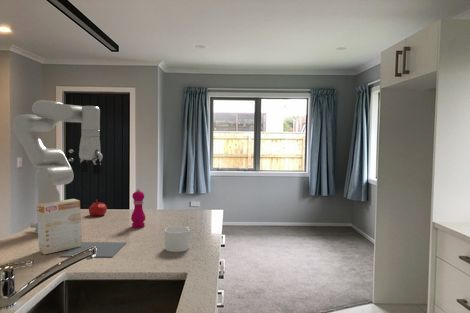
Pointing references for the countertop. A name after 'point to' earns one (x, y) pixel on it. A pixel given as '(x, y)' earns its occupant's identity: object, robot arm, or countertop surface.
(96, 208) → the pomegranate
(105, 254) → the mat
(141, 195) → the pepper mill
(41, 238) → the coffeecake box
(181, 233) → the mug
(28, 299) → the countertop surface
